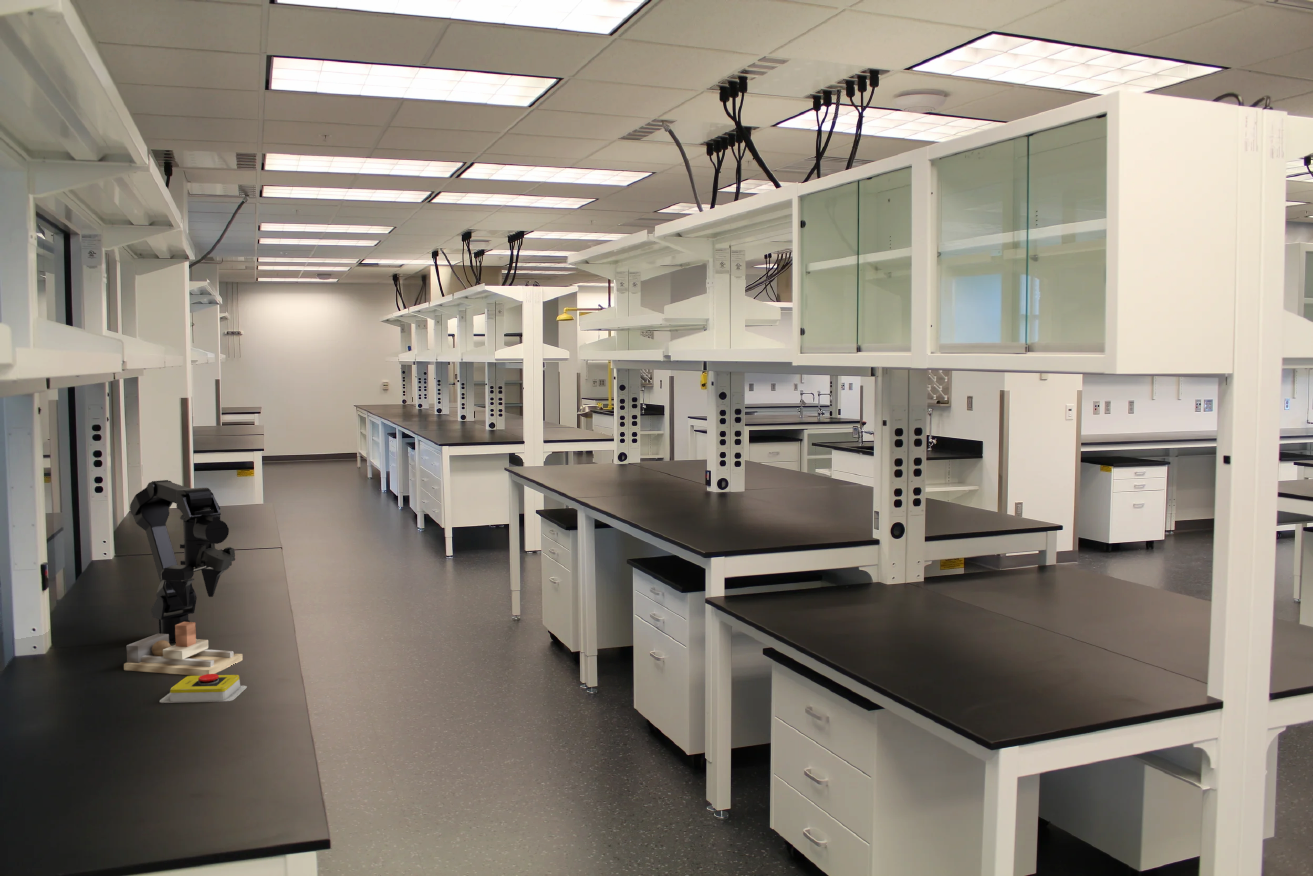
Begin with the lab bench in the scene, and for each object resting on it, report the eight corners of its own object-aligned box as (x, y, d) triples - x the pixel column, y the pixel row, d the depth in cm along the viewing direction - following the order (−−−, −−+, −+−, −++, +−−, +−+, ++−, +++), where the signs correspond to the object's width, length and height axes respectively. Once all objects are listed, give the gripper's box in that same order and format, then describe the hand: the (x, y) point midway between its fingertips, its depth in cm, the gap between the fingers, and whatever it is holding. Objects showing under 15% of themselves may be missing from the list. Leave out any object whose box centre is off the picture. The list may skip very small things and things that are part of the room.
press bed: (124, 670, 210) (123, 646, 209) (161, 654, 221) (160, 632, 221) (209, 676, 206) (208, 652, 205) (242, 660, 217) (242, 637, 217)
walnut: (148, 659, 213) (147, 642, 213) (160, 654, 217) (159, 637, 216) (163, 660, 212) (162, 643, 212) (175, 655, 216) (174, 638, 216)
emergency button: (231, 683, 190) (156, 684, 189) (231, 703, 190) (157, 705, 189) (247, 668, 199) (177, 670, 198) (248, 688, 200) (177, 689, 198)
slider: (163, 658, 209) (162, 628, 209) (189, 646, 218) (189, 618, 218) (182, 659, 208) (181, 629, 208) (208, 648, 217) (207, 619, 217)
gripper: (200, 547, 214) (202, 612, 215) (249, 533, 232) (251, 594, 233) (158, 545, 216) (160, 610, 217) (210, 532, 234) (212, 592, 235)
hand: (198, 601), depth 225 cm, fingers open, 9 cm apart
